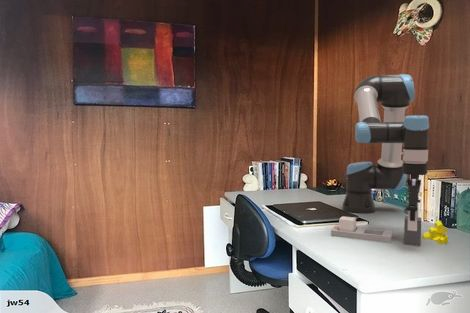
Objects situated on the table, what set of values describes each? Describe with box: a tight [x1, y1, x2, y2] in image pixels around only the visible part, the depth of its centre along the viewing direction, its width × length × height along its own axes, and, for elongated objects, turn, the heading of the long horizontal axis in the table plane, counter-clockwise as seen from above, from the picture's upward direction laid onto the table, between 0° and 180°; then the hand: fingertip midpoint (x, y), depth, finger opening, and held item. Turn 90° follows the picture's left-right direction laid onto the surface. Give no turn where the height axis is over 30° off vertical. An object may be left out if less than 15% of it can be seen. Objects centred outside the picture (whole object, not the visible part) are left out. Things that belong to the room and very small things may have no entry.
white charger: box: [338, 216, 357, 232], centre depth 139 cm, size 5×5×6 cm
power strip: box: [330, 224, 394, 244], centre depth 137 cm, size 8×20×4 cm, turn 63°
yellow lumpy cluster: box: [422, 220, 449, 245], centre depth 135 cm, size 6×8×8 cm
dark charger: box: [403, 215, 423, 247], centre depth 129 cm, size 5×5×9 cm
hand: (412, 225), depth 129 cm, fingers open, 13 cm apart
